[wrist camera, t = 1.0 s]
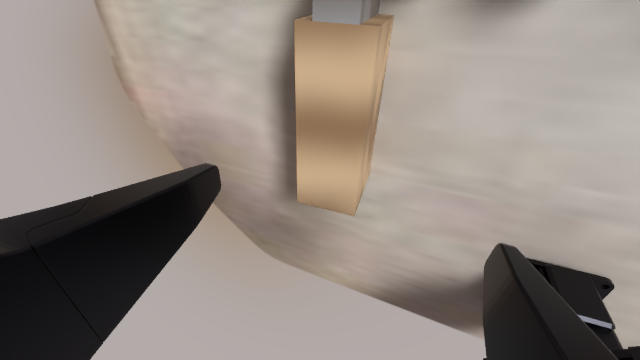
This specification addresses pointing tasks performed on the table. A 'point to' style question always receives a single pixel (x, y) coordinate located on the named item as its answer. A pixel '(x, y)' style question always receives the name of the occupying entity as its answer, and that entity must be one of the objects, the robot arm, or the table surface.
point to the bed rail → (338, 99)
